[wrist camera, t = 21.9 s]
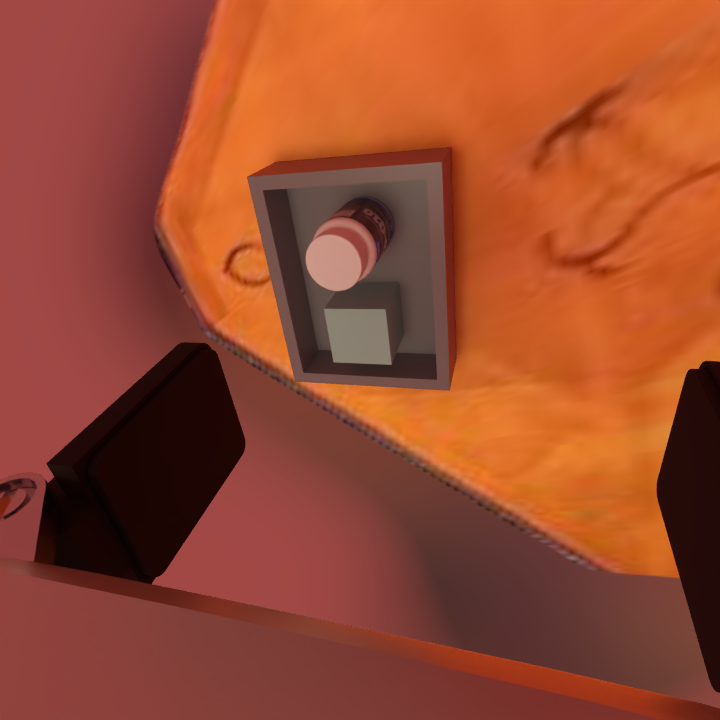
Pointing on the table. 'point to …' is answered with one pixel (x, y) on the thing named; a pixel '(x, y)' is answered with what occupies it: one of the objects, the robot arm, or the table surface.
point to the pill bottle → (349, 243)
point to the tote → (397, 264)
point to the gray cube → (365, 323)
